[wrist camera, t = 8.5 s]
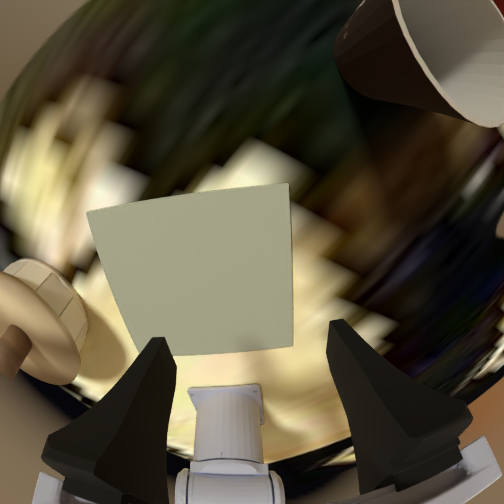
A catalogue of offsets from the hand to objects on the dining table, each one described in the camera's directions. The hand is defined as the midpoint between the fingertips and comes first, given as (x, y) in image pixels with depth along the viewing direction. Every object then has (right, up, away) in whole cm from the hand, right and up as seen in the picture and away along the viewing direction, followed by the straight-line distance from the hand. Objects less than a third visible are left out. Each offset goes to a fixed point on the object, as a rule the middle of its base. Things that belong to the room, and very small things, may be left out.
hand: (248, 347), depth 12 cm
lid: (-21, -3, +6) cm, 22 cm away
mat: (-4, +1, +10) cm, 11 cm away
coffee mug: (+10, +18, +3) cm, 21 cm away
